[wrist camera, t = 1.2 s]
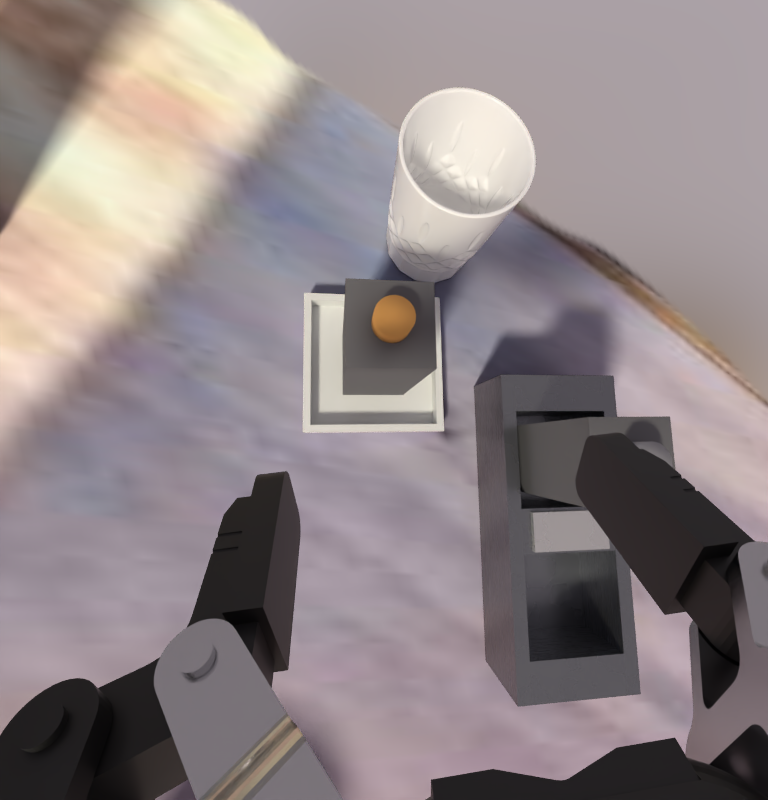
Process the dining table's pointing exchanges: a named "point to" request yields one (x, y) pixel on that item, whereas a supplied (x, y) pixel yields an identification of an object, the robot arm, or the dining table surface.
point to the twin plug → (579, 450)
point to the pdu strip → (548, 557)
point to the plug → (387, 336)
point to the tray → (358, 412)
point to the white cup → (455, 180)
